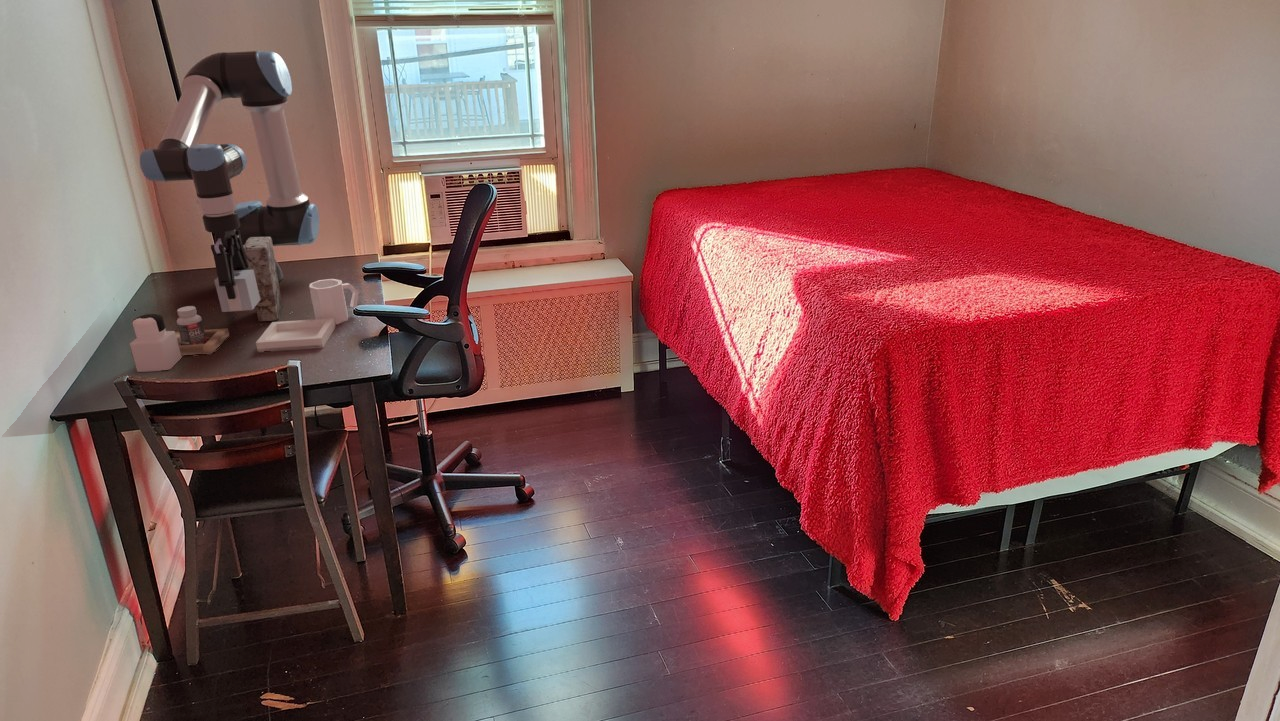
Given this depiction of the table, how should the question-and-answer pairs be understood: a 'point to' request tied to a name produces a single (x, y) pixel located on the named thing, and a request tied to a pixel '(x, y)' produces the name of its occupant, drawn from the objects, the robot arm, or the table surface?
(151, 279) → the table surface
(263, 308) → the stone block
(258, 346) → the tray
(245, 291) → the blue-grey block
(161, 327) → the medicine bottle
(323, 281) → the mug
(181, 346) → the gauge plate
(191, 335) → the pill bottle
